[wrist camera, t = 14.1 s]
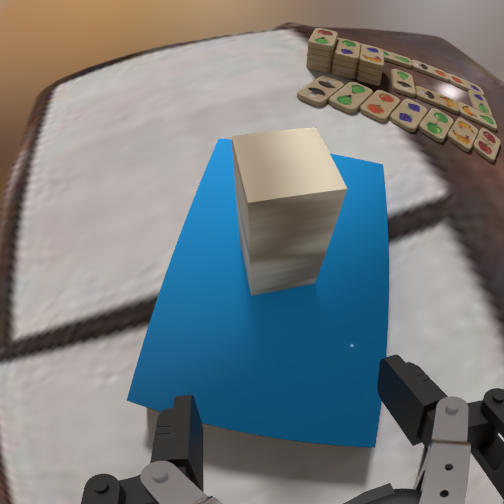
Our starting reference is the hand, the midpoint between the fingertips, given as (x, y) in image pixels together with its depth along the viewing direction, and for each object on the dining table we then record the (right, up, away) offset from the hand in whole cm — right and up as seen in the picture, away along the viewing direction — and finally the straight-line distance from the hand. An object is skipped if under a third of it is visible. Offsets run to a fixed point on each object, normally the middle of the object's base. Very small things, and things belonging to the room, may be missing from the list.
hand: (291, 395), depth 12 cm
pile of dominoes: (+24, +32, +32) cm, 51 cm away
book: (+1, +3, +15) cm, 15 cm away
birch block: (0, +5, +11) cm, 13 cm away
